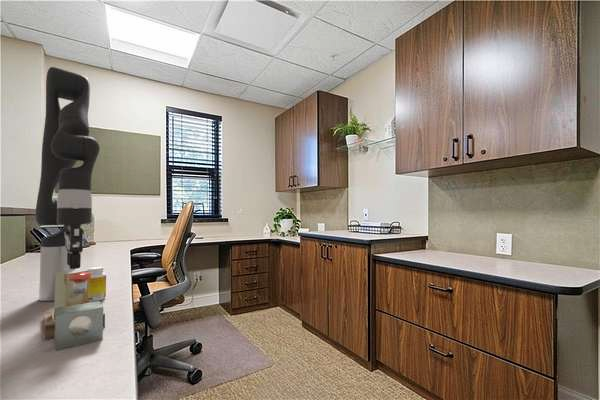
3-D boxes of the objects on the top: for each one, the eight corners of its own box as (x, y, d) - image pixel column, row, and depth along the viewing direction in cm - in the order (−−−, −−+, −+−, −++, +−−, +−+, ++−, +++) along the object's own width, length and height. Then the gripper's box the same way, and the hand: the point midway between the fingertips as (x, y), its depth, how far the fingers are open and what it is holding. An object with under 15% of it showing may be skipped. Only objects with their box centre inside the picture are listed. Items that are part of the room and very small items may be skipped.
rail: (44, 319, 76) (44, 307, 76) (94, 309, 83) (95, 299, 84) (44, 340, 63) (45, 326, 63) (104, 326, 70) (105, 314, 71)
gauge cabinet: (53, 341, 63) (55, 308, 63) (98, 331, 68) (99, 300, 68) (55, 351, 58) (56, 316, 58) (102, 339, 63) (103, 307, 64)
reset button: (67, 292, 64) (68, 274, 64) (89, 289, 66) (90, 271, 67) (68, 296, 61) (69, 277, 61) (92, 292, 63) (92, 274, 64)
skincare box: (66, 322, 74) (67, 273, 75) (52, 320, 75) (54, 273, 75) (89, 313, 80) (90, 269, 81) (76, 312, 81) (77, 268, 82)
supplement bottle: (108, 299, 94) (109, 267, 94) (87, 303, 89) (88, 270, 90) (102, 296, 97) (102, 265, 98) (82, 300, 93) (83, 268, 93)
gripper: (55, 207, 82) (54, 265, 81) (58, 205, 71) (56, 272, 70) (88, 207, 87) (87, 262, 86) (95, 205, 76) (94, 267, 75)
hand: (73, 266), depth 78 cm, fingers open, 8 cm apart
